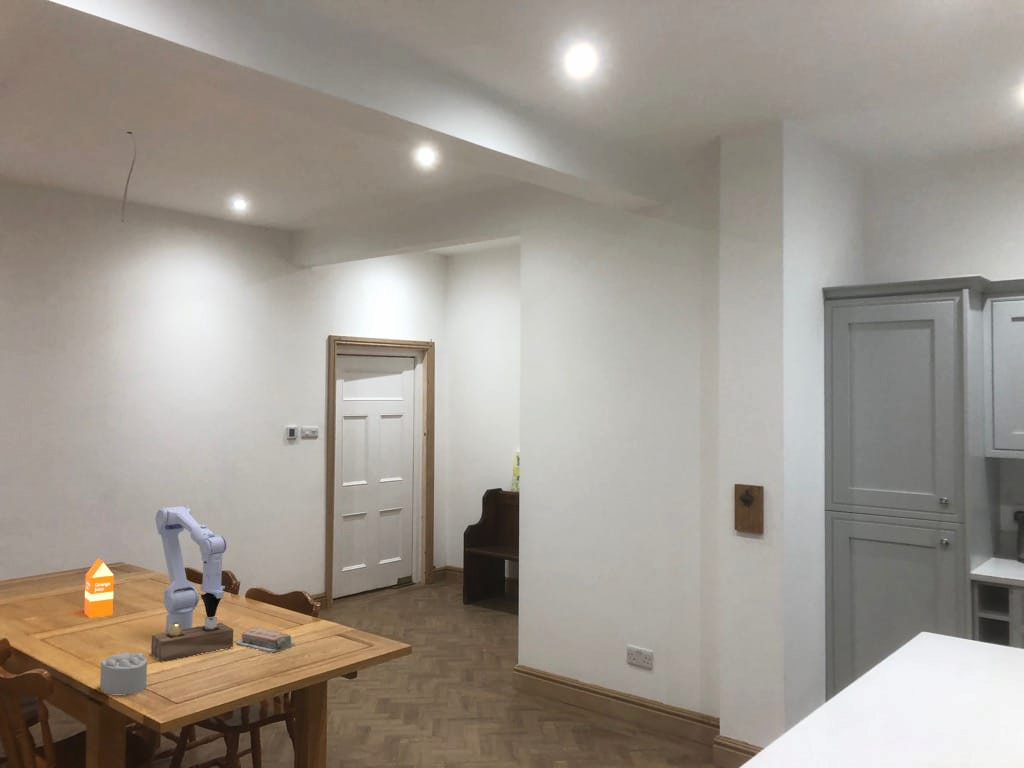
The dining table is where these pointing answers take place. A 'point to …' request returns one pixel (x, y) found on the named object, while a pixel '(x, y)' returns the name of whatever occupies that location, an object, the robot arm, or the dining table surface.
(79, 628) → the dining table surface
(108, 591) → the orange juice
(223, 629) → the walnut block
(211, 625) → the grey metal peg
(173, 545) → the robot arm
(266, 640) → the packaged product
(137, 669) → the lumpy-topped squat cylinder
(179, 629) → the brass peg
